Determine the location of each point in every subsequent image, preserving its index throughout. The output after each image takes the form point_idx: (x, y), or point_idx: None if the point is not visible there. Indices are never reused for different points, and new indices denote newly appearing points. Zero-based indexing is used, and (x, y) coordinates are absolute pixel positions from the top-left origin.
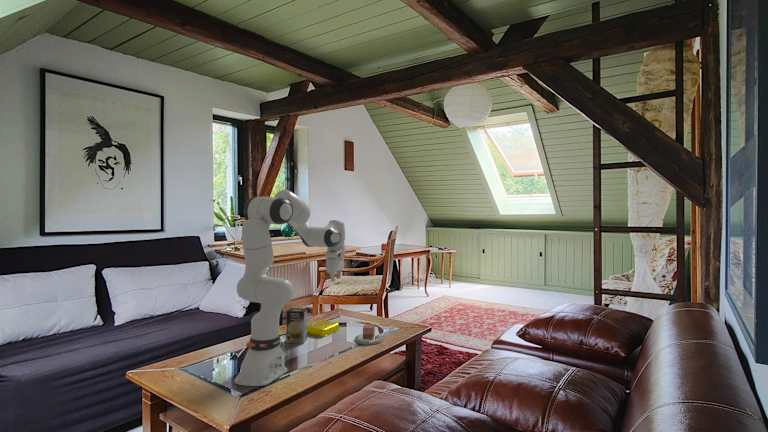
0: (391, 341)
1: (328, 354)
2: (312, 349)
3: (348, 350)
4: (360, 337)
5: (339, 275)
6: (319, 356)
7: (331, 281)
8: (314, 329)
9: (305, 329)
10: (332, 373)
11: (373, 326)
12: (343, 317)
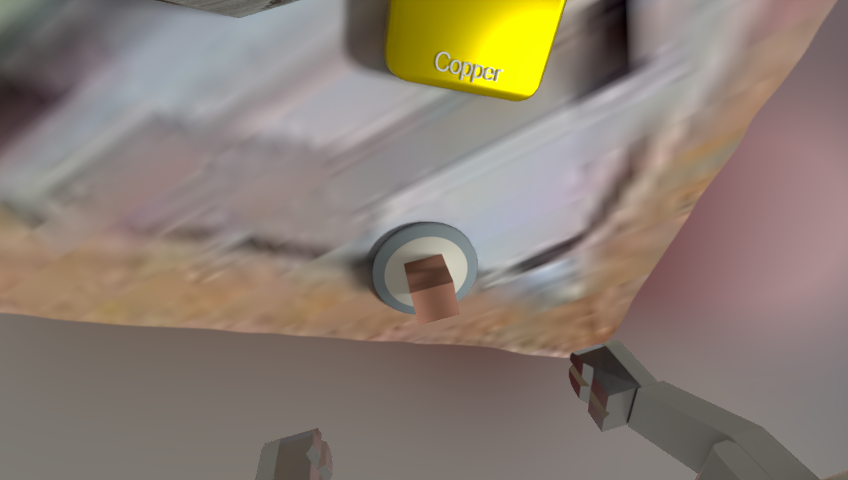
0: (438, 329)
1: (200, 215)
2: (201, 117)
3: (287, 258)
4: (417, 248)
5: (601, 427)
6: (153, 194)
7: (267, 446)
8: (390, 1)
9: (253, 1)
10: (60, 314)
11: (435, 320)
12: (732, 6)
